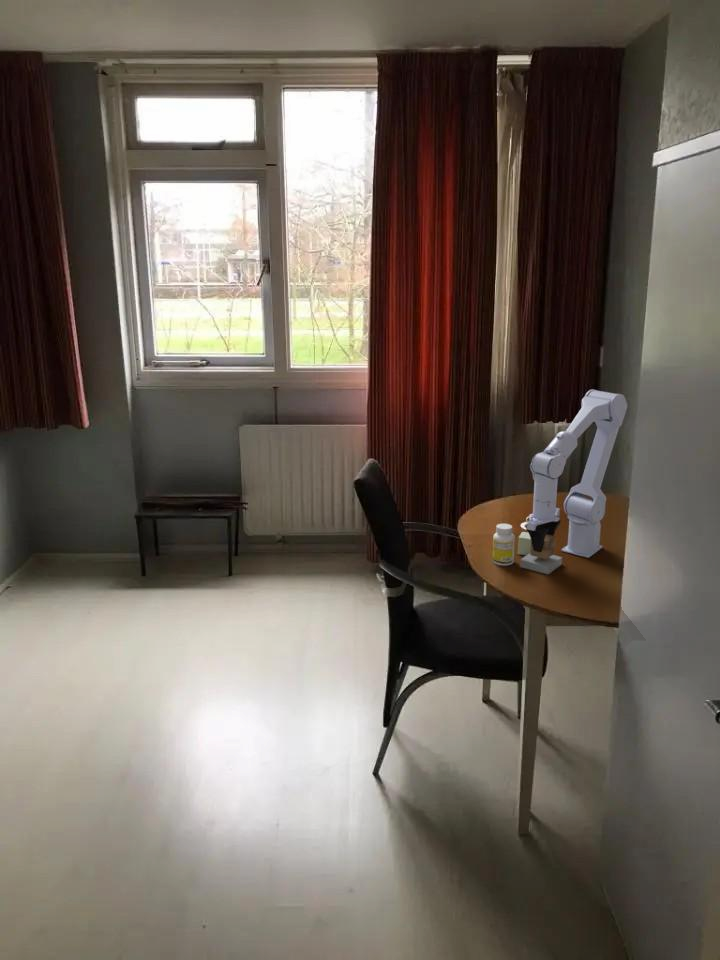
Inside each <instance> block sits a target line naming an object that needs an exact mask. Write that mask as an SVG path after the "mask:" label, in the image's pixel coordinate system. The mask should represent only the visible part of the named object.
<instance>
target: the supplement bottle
mask: <svg viewBox="0 0 720 960" xmlns="http://www.w3.org/2000/svg"><path fill="white" fill-rule="evenodd" d="M495 527H496V529H495V531H496V532H495V533H494V534H493V536H492V537H493V538H492V562H493V563H494V564H495V565H497V566H511V565H513V564H514V562H515V548H516V547H515V543H516V541H515V540H516V537H515V534H513V525H511V524H509V523H497V524H496V526H495Z"/></svg>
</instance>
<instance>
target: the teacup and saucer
mask: <svg viewBox="0 0 720 960" xmlns="http://www.w3.org/2000/svg"><path fill="white" fill-rule="evenodd" d="M532 514H533V513H530V514H529V515H528V516H527V517H526V518H525V521H524V522H522V523H520V527H521V529H523V530H525V531H527V529H526V525H527V522H528V521H529V520H530V518H531V515H532ZM528 519H529V520H528Z"/></svg>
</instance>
